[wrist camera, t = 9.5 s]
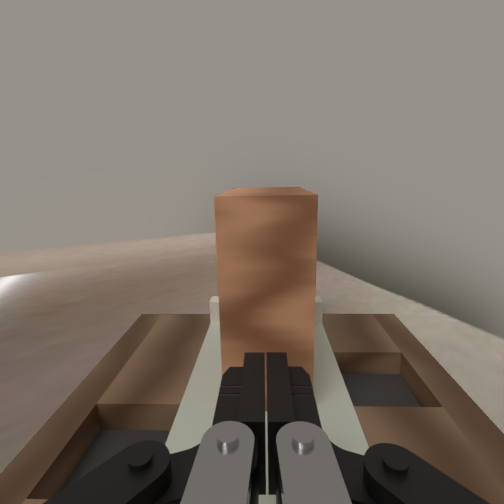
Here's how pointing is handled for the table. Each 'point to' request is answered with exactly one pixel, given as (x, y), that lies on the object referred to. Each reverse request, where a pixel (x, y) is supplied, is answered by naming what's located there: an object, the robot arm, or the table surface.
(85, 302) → the table surface
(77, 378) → the table surface
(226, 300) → the block
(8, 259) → the table surface
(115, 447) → the lane board
